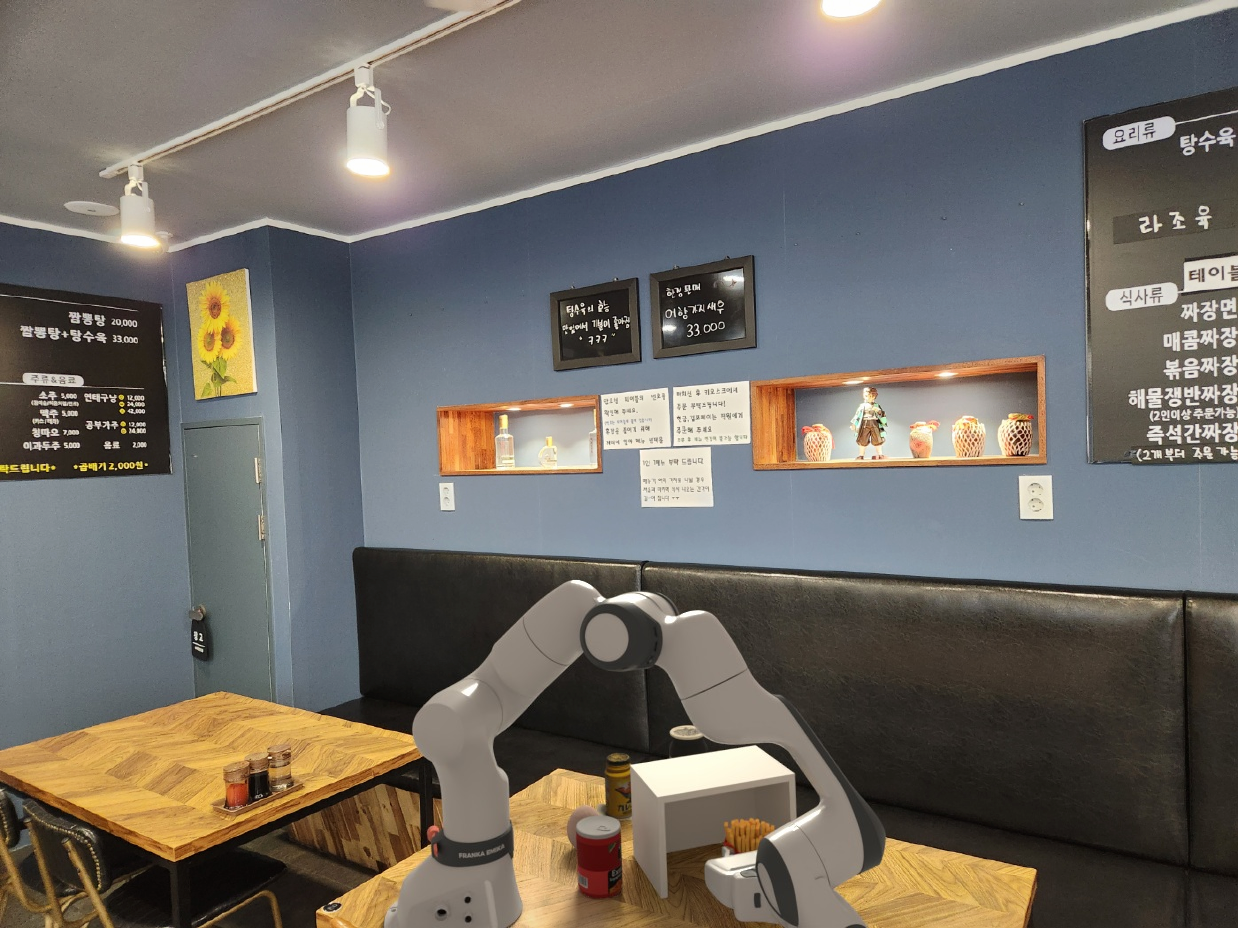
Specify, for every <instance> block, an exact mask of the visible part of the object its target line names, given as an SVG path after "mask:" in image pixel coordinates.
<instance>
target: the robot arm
mask: <svg viewBox="0 0 1238 928" xmlns="http://www.w3.org/2000/svg"><path fill="white" fill-rule="evenodd" d="M583 653H584V655H585V657H586V658H587V660H588V661H589V662H591V663H592V664H593V665H594V666H596V667H597V668H600V669H602V670H606V671H609V672H610V671H611V672H628V671H634V670H646V669H650V668H652V667H654V666H655V665H656V666H658V667H659V668H661V669H663V670H664V671H665V673H666V674H668V677H669V678H670V681H671V682H672V684H673V686H674V688H675V691H676V693H677V695H678V698H679V700H680V701H681V704H682V706H683V709H684V711H685V713H686V714H687V717H688V718H689V720H690V721H691V723H692V726H695V728H696V729H697V731H698V732H699V733H701V734H702V735H703V736H704V738H706V739H708V740H710V741H712V742H714V743H718V744H722V745H724V744H725V745H746V744H749V745H750V744H760V743H761V744H763V743H764V744H765V743H767V744H768V743H769V744H770V743H771V744H775V745H777V746H780V747H782V748H784V749H785V750H786V751H787V752H788V753H789V754H790V756H791V757H792V758H793V760H794V761H795V763H796V764H797V765H798V767H799V768H800V770H801V772H802V773H803V774H804V775H805V777H806V778H807V780H808V781H809V782H810V784H811V786H812V787H813V788H814V790H815V792H816V793H817V795H818V796H819V804H818V805H817V806H815V807H814V808H812V809H810V810H809V811H807V812H806V813H804V814H802V815H800V816H799V817H797V819H795V820H793V821H791V822H788V823H787V824H785V825H783V826H781V827H780V828H778V829H776V830H775V831H773V832H771V833H770V834H768V835H767V836H765V837H764V838H762V839H761V841H760V843H759V846H758V849H757V850H755V851H750V852H746V853H741V854H736V855H734V848H733V847H731V846H724V845H723V846H722V847H721V856H722V857H717V858H711V859H708V860H707V861H706V862H705V864H704V881H705V885H706V887H707V889H708V890H709V892H710V893H712V895H713V896H714V897H715V898H716V899H717V900H718V901H719V902H720V903H721V904H722V905H723V906H725V907H727V908H728V909H733V913H734V917H735V919H736V920H738V922H743V923H750V922H752V923H753V922H754V923H755V922H759V923H769V924H774V925H781V926H782V927H783V928H869V927H868V925H867V924H866V922H865V921H864V919H863V918H862V917H861V915H860V914H859V913H858V911H856V910H855V908H854V907H853V906H852V904H850V903H849V902H848V900H846V899H845V898H844V897H843V895H841V894H840V893H839V892H838V891H837V890H836V889H837V887H839V886H840V885H842V884H844V883H845V882H847V881H849V880H851V879H852V878H853V877H855V876H859V875H861V874H863V873H866V872H867V871H870V870H872V869H874V868H876V867H878V866H880V865H881V863H882V861H883V858H884V853H885V849H886V843H887V841H886V839H887V837H886V836H887V835H886V831H885V828H884V825H883V824H882V822H881V820H880V818H879V817H878V816H877V814H876V813H875V812H874V810H873V809H872V808H871V806H870V805H869V804H868V802H866V801H865V799H864V797H862V795H860V794H859V792H858V791H857V790H856V789H855V788H854V786H853V785H852V784H851V782H850V781H849V780H848V778H847V777H846V775H845V774H844V772H843V771H842V769H841V768H840V767H839V765H838V764H837V763H836V762H835V760H834V759H833V757H832V756H831V754H830V753H829V752H828V750H827V749H826V748H825V746H824V744H823V743H822V741H821V740H820V739H819V737H818V736H817V734H816V733H815V732H814V731H813V728H811V727H810V725H809V724H808V723H807V721H806V720H805V718H804V717H803V716H802V714H801V713H800V712H799V711H798V709H797V708H796V707H795V706H794V704H792V703H791V702H790V701H789V700H788V699H787V698H786V697H784V696H783V695H781V694H773V693H770V692H769V691H767V690H766V689H765V688H764V687H763V686H761V684H759V682H758V681H757V680H756V679H755V678H754V677H755V676H754V675H752V673H751V671H750V669H749V668H748V665H747V663H746V661H745V659H744V658H743V655H742V654H741V652H740V651H739V649H738V646H737V645H736V643H735V642H734V639H732V637H731V636H730V634H729V633H728V631H727V630H726V628H725V627H724V626H723V624H722V623H721V622H720V621H719V619H718V618H717V617H716V616H715V615H714V614H713V613H711V612H709V611H706V610H690V611H687V612H684V613H681V614H680V612H679V610H678V608H677V606H676V605H675V603H674V602H673V600H672V599H670V598H669V597H668V596H666V595H665V594H662V593H660V592H657V591H654V590H638V591H631V592H625V593H621V594H619V595H617V596H616V595H615V596H614V597H609V598H606V597H605V596H603V595H602V594H601V593H600V592H599V591H598V590H597V589H596V588H595V587H594V586H592V585H591V584H589V583H587V582H586V581H582V580H578V579H572V580H568V581H566V582H564V583H562V584H561V585H559V586H558V587H556V588H555V589H552V590H551V591H550V592H549V593H547V594H546V595H545V596H544V597H542V598H541V599H539V600H538V601H537V602H536V603H535V604H534V605H532V606H531V607H530V609H528V610H527V611H526V612H525V613H524V614H523V615H522V616H521V617H520V618H519V619H518V620H517V621H516V622H515V623H514V624H513V625H512V626H511V627H510V628H509V629H508V630H507V631H506V632H505V633H504V634H503V635H502V636H501V637H500V638H499V639H498V640H497V641H496V642H495V643H494V644H493V646H492V649H491V651H490V653H489V654H488V656H487V657H486V658H485V660H484V661H483V662H482V663H481V664H480V665H479V667H478V668H476V669H475V670H474V671H472V673H470V674H468V675H467V676H465V677H464V678H462V679H461V680H459V681H457V682H456V683H454V684H452V685H450V686H449V687H446V688H445V689H442V690H440V691H439V692H436V694H434V695H433V696H432V697H431V698H430V699H429V700H428V701H427V702H425V704H423V706H422V707H421V708H420V710H419V711H418V712H417V713H416V715H415V717H414V719H413V722H412V730H411V731H412V737H413V742H414V745H415V746H416V748H417V750H418V751H419V753H420V754H421V755H422V756H423V757H424V758H426V759H427V760H428V761H430V762H432V765H433V766H434V768H435V771H436V773H437V777H438V781H439V785H440V793H441V805H442V806H441V807H442V809H441V810H442V828H441V829H440V828H439V827H438V826H437V825H432V826H430V827H428V829H427V832H426V835H427V840H428V841H429V842H430V854H429V855H428V856H427V857H426V858H425V859H424V860H423V861H421V862H420V863H419V864H418V865H417V866H416V867H415V868H413V869H412V870H411V871H410V872H409V873H407V875H406V876H405V878H404V879H403V880H402V884H401V887H400V889H399V892H398V893H399V894H398V898H397V900H395V901H394V902H393V903H392V904H391V905H390V907H389V908H388V909H387V912H386V913H385V916H384V922H383V928H508V927H510V925H512V924H514V922H516V920H518V918H519V917H520V915H521V914H522V912H523V907H524V903H523V900H522V898H521V894H520V892H519V891H520V890H519V887H518V883H517V879H516V874H515V873H516V872H515V868H514V860H513V858H514V851H515V835H514V834H515V831H514V827H513V822H512V820H511V815H510V811H511V810H510V785H509V783H510V782H509V781H510V780H509V777H508V775H507V773H506V772H505V771H504V769H503V768H501V767H499V765H498V764H497V761H496V758H495V754H494V748H493V747H494V739H495V738H496V737H497V736H498V735H499V734H501V733H502V732H504V731H505V730H506V729H507V728H509V727H510V726H511V725H512V724H513V723H515V722H516V720H517V719H518V718H519V717H520V716H521V715H522V714H523V713H524V712H525V711H526V710H527V709H528V707H530V705H532V703H533V702H534V701H535V700H536V699H537V697H539V696H540V694H542V693H543V692H544V690H545V689H547V687H549V686H550V685H551V684H552V683H553V682H554V681H555V680H556V679H558V677H559V676H560V675H562V673H563V672H564V671H566V669H568V667H570V665H572V664H573V663H574V662H575V661H576V660H577V659H578V658H579V657H580V656H581V655H583Z"/></svg>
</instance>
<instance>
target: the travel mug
mask: <svg viewBox="0 0 1238 928" xmlns="http://www.w3.org/2000/svg"><path fill="white" fill-rule="evenodd" d="M669 734H670V736H671V742H670V745H669V747H668V749H669V750H668V751H669V759H672V758H678V757H685V756H691V755H697V754H704V753H709V752H708V745H707V743H706V741H705V736H703V735H702V734H701V733H699V732H698V731H697V729H696V728H695V726H694V725H680V726H676V727H673V728H671V730H669Z"/></svg>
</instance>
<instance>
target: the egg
mask: <svg viewBox="0 0 1238 928" xmlns="http://www.w3.org/2000/svg"><path fill="white" fill-rule="evenodd" d="M591 816H600V815H599V813H598V812H597V809H596V808H595V807H593V806H591V805H589V804H583V805H582V804H581V805H580V806H578V807H576V808H575V809H574V810H573V811H572V813H571V814H570V816H569V818H568V820H567V824H566V836H567V839H568V841H569V843H570V845H571V846H572V847H574V848H575V849H576V850H577V847H576V825H577V823H578V822H579V821H580V820H582V819H584V818H587V817H591Z"/></svg>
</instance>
